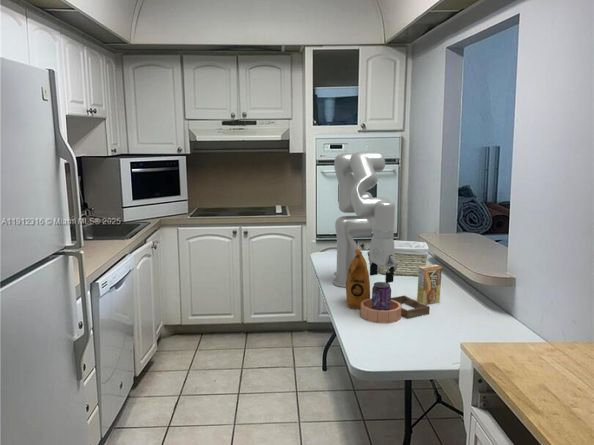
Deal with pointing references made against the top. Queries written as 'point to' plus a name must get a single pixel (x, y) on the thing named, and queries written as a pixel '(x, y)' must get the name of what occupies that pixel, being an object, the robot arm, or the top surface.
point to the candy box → (429, 284)
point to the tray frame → (419, 307)
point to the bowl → (380, 312)
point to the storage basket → (409, 257)
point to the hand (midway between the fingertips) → (381, 278)
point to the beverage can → (381, 296)
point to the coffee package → (357, 281)
